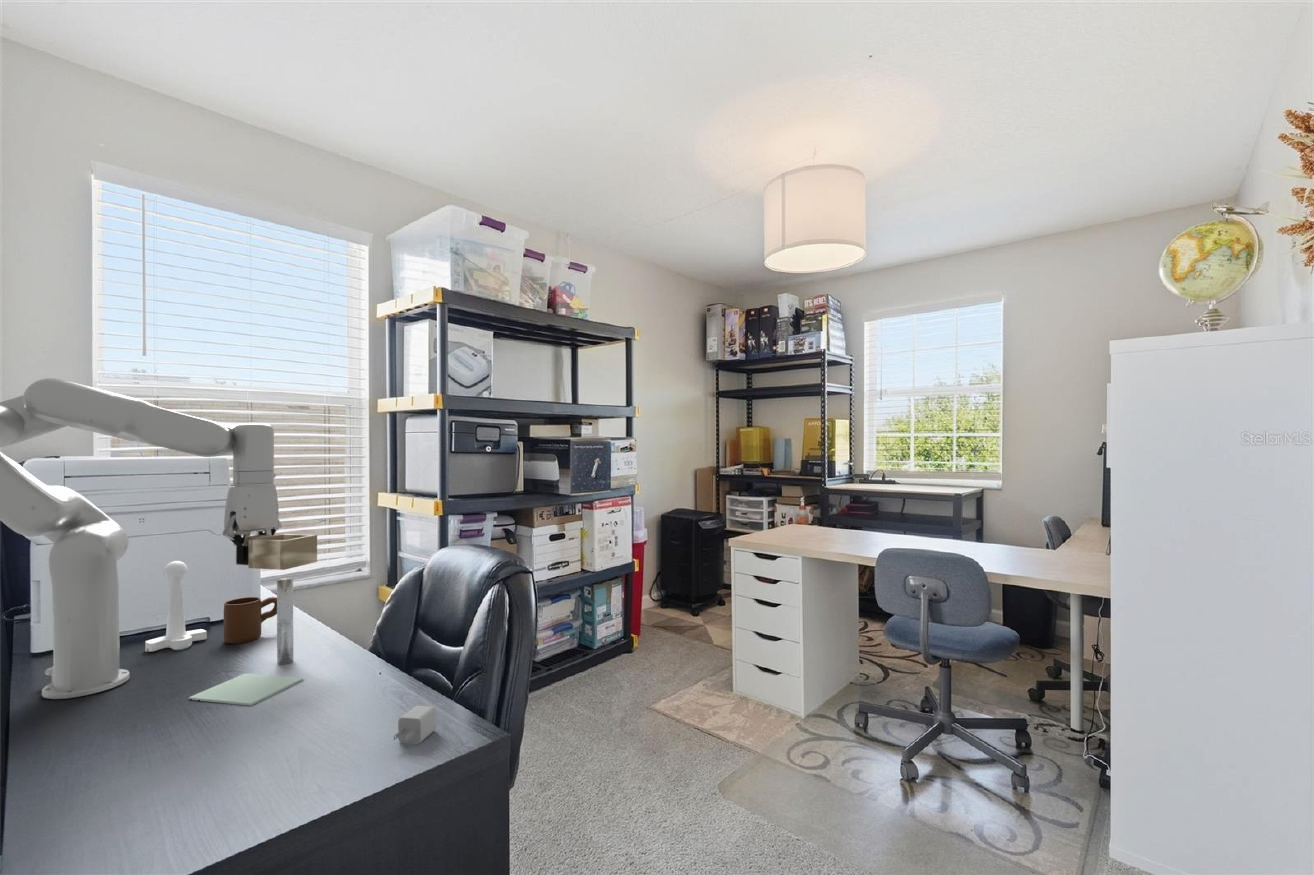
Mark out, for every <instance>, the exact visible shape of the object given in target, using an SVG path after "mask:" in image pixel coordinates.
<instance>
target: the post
mask: <svg viewBox="0 0 1314 875" xmlns="http://www.w3.org/2000/svg"><path fill="white" fill-rule="evenodd" d="M276 598H277V614H276V644H277V645H276V648H277V649H276V650H277V652H276V653H277V658H276V660H277V665H287V664H291V663H293V662H294V658H295V657H294V578H293V577H283V578H282V577H281V578H278V579H276Z"/></svg>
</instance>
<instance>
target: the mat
mask: <svg viewBox="0 0 1314 875" xmlns="http://www.w3.org/2000/svg"><path fill="white" fill-rule="evenodd" d="M302 680H303V681H304V678H303V677H295V676H294V677H293V676H285V675H283V676H281V675H270V674H259V673H258V674H257V673H249V672H248V673H246V672H245V673H243V674H240V675H238V676H236V677H234V678H231V679H229V680H226V681H224V682H222V683H219V684H217V685H215V686H212V687H209V688H208V689H205V690H203V691H200V692H198V693H195V694H194V695H191V696H189V697H188V700H189V699H192V700H191V701H198V700H200V701H199V702H211V703H219V704H229V705H230V704H231V705H239V706H249V707H252V706H254V705H255V704H257V703H260V702H262V701H264V700H266V699H268V698H270V697H272V696H274V695H276V694H278V693H280V692H282V691H284V690H286V689H289V688H290V687H292V686H294V685H296V684H298V683H300V682H302Z"/></svg>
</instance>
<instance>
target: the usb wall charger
mask: <svg viewBox="0 0 1314 875" xmlns="http://www.w3.org/2000/svg"><path fill="white" fill-rule="evenodd" d="M436 728H437V709H436V708H435V707H434V706H429V705H428V706H427V705H415V706H414V707H412V708H411V709H410V710H409V711H407V712H406V713H405V714H403V715H402V716H400V717H399V718H398V721H397V732H396V733H395V734H394V735H393V741H395V740H398V741H399V742H400V743H402V744H403V743H405V744H416V745H417V744H418V745H420V744H421V743H422V742H423V741H424V740H425V739H426V738H428V737H429V736H430V735H431V734H432V733H433V732H434V731H436Z"/></svg>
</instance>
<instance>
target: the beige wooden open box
mask: <svg viewBox="0 0 1314 875" xmlns="http://www.w3.org/2000/svg"><path fill="white" fill-rule="evenodd" d="M241 537H242V538H243V535H242V536H241ZM248 546H249V564H237V546H235V565H237V566H248V569H257V570H258V569H259V570H277V571H278V570H279V571H286V570H291V569H294V568H298V567H302V566H305V565H311V564H314V563H317V562H318V534H302V533H301V534H297V533H295V534H294V533H281V534H279V533H278V534H274V535H257V534H250V539H249V544H248Z"/></svg>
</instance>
